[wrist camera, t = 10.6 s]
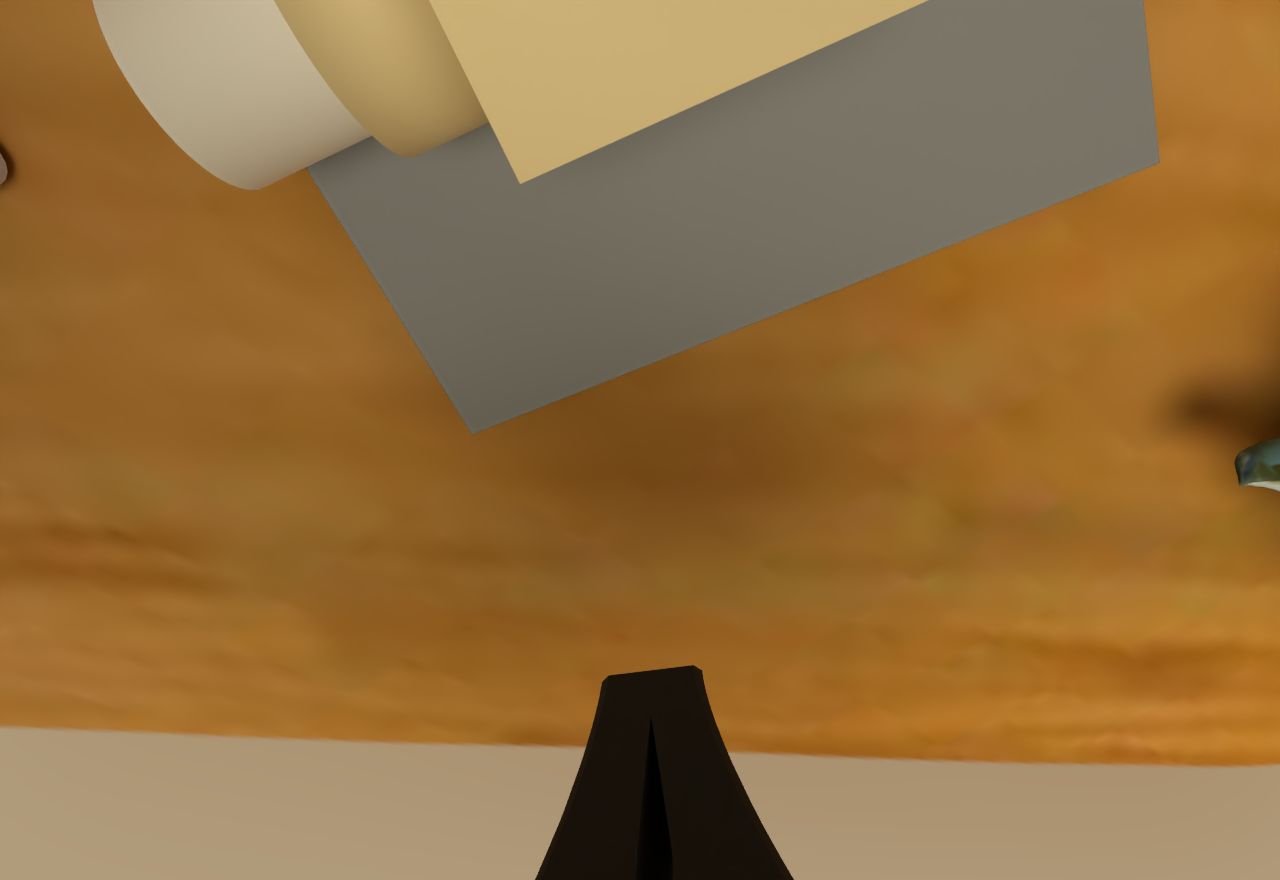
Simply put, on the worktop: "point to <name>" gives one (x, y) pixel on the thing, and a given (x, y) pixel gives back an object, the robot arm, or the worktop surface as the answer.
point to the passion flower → (1260, 465)
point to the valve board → (640, 151)
